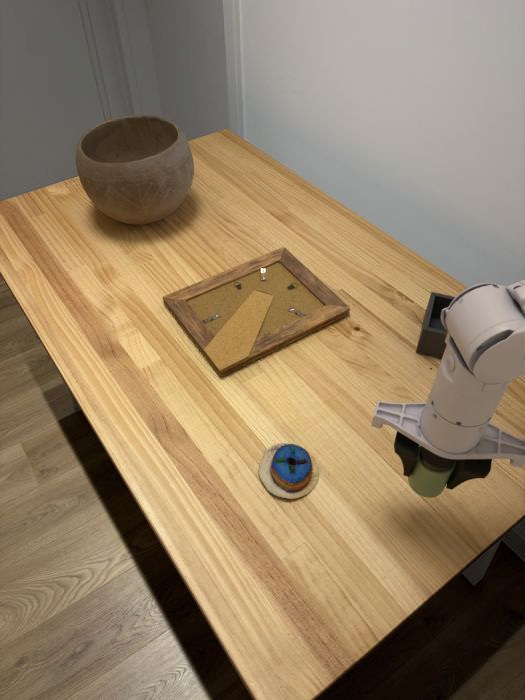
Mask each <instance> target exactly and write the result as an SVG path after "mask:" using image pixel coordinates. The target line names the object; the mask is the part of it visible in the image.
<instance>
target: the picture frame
mask: <svg viewBox="0 0 525 700" xmlns="http://www.w3.org/2000/svg"><path fill="white" fill-rule="evenodd" d="M162 300H163V301H162V302H163V305H164V306H165V307H166V308H167V310H168V311H169V312H170V314H171V315H172V316H173V318H174V319H175V320H176V321H177V322H178V324H179V325H180V327H181V328H182V329H183V331H184V332H185V333H186V335H187V336H188V337H189V339H190V340H191V341H192V342H193V343H194V345H195V346H196V348H197V349H198V350H199V351H200V353H201V354H202V356H203V357H204V358H205V359H206V360H207V362H208V363H209V365H210V366H211V367H212V368H213V370H214V372H216V374H217V375H218V376H219V377H220V378H222V377H225V376H227V375H228V374H230V373H233V372H235V371H237V370H239V369H241V368H243V367H245V366H247V365H249V364H251V363H253V362H255V361H257V360H259V359H261V358H263V357H265V356H267V355H270V354H271V353H273V352H276V351H277V350H280V349H282V348H283V347H286V346H287V345H290V344H292V343H294V342H296V341H298V340H300V339H301V338H304V337H305V336H308V335H310V334H312V333H314V332H316V331H318V330H320V329H322V328H324V327H326V326H329V325H330V324H332V323H335V322H336V321H338V320H340V319H343V318H344V317H347V316H348V315H349V316H350V313H351V307H350V306H349V305H348V304H347V303H346V302H345V301H344V300H343V299H341V298H340V296H339V295H337V294H336V293H335V292H334V291H333V290H332V289H331V288H330V287H328V286H327V284H325V283H324V282H323V281H322V280H321V279H320V278H319V277H317V275H316V274H315V273H313V272H312V271H311V270H310V269H309V268H308V267H307V266H306V265H304V263H303V262H301V260H299V259H298V258H297V257H296V256H295V255H294V254H293V253H291V252H290V251H289V250H288V249H287V248H286V247H285V246H282V247H279V248H278V249H274V250H272V251H270V252H267V253H265V254H263V255H261V256H257V257H255V258H253V259H251V260H248V261H246V262H244V263H240V264H239V265H235V266H234V267H232V268H229V269H226V270H223V271H221V272H219V273H217V274H214V275H212V276H209V277H207V278H205V279H202V280H200V281H197V282H196V283H193V284H190V285H188V286H185V287H183V288H181V289H178V290H175V291H173V292H171V293H168V294H165V295H163V296H162Z"/></svg>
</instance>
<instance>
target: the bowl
mask: <svg viewBox="0 0 525 700" xmlns="http://www.w3.org/2000/svg"><path fill="white" fill-rule="evenodd" d="M75 166H76V172H77V175H78V179H79V182H80V184H81V187H82V189H83V190H84V193H85V194H86V195H87V197H88V198H89V200H90V201H91V203H92V204H93V205H94V206H95V207H96V209H98V210H99V211H100V212H101V213H102V214H104V215H105V216H107V217H109V218H110V219H112V220H114V221H117V222H119V223H122V224H126V225H137V226H138V225H149V224H152V223H155V222H158V221H161V220H163V219H165V218H167V217H169V216H170V215H171V214H173V213H174V212H175V211H176V210H177V209H178V208H179V207H181V205H182V204H183V203H184V201H185V200H186V198H187V196H188V194H189V192H190V190H191V188H192V186H193V185H192V184H193V181H194V176H195V162H194V156H193V152H192V150H191V146H190V143H189V142H188V139H187V137H186V135H185V134H184V131H183V130H182V129H181V128H180V127H179V126H178V124H177V123H176V122H174V121H173V120H171V119H168V118H165V117H162V116H160V115H159V116H158V115H151V114H148V115H147V114H136V115H135V114H133V115H132V114H131V115H126V116H117V117H114V118H111V119H108V120H105V121H102V122H100V123H98V124H95V125H94V126H92V127H90V128H89V129H88V130H86V132H84V133H83V134H82V135H81V136H80V138H79V139H78V141H77V144H76V151H75Z"/></svg>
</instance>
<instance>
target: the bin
mask: <svg viewBox="0 0 525 700" xmlns="http://www.w3.org/2000/svg"><path fill="white" fill-rule="evenodd" d="M455 297H456V296H452V295H448V294H444V293H440V292H435V291H431V292H430V296H429V299H428V302H427V305H426V308H425V312H424V315H423V320H422V323H421V328H420V331H419V337H418V340H417V345H416V350H415V354H416V353H417V354H420V355H425V356H429V357H433V358H436V359H440V360H442V357H443V355H444V352H445V349H446V346H447V344H446V342H445V339H446V336H447V333H448V331H447V330H446V329H445V327H444V326H443V324H442V321H441V312H442V310H443V309H444V308H447V307H449V305H450V304H451V302H452V301H453V299H454V298H455Z"/></svg>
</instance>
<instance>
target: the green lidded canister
mask: <svg viewBox="0 0 525 700" xmlns="http://www.w3.org/2000/svg"><path fill="white" fill-rule="evenodd" d="M455 466H456V459H447V458H443V457H441V456H438V455H436V454H434V453H432V452H431V451H429V450H428V449H426V448H424V447H423V446H421V445H420V447H419V452H418V457H417V459H416V460H415V462H414V464H413V466H412V471H411V475H410V477H407V481H408V484H409V485H408V486H409V487H410V488H411V490H412V491H413V492H414V493H415V494H417V495H419V496H420V497H423V498H427V499H430V498H431V499H432V498H436V497H439V496H441V494H442V493H443V492H444V490H445V489H446V485H447V482H448V480H449V478H450V476H451V474H452V472H453V470H454V468H455Z"/></svg>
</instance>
